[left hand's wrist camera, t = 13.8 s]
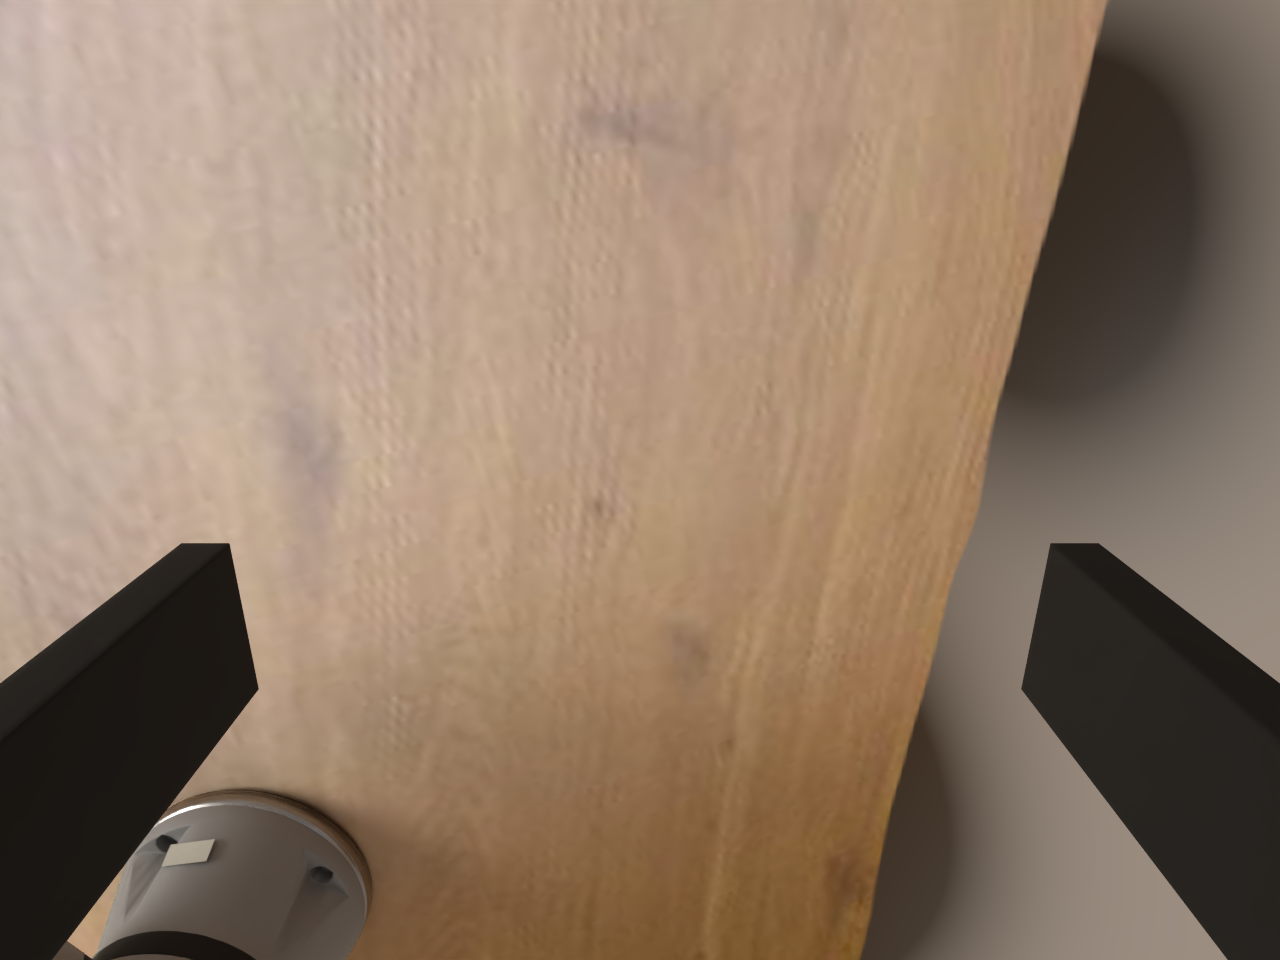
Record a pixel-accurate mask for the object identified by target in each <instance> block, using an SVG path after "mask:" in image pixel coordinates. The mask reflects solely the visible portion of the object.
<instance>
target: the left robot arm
mask: <svg viewBox="0 0 1280 960" xmlns="http://www.w3.org/2000/svg"><path fill="white" fill-rule="evenodd" d="M1022 690H1023V692H1024V693H1025V694H1026V696H1027V697H1028V698H1029V700H1030V701H1031V702H1032V704H1033V705H1034V706H1035V708H1036V709H1037V710H1038V712H1039V713H1040V714H1041V715H1042V717H1043V718H1044V719H1045V721H1046V722H1047V723H1048V725H1049V726H1050V727H1051V729H1052V730H1053V731H1054V733H1055V734H1056V735H1057V736H1058V738H1059V739H1060V740H1061V742H1062V743H1063V744H1064V746H1065V747H1066V748H1067V750H1068V751H1069V752H1070V754H1071V755H1072V756H1073V757H1074V759H1075V760H1076V761H1077V763H1078V764H1079V765H1080V767H1081V768H1082V769H1083V771H1084V772H1085V773H1086V774H1087V776H1088V777H1089V778H1090V780H1091V781H1092V782H1093V784H1094V785H1095V786H1096V788H1097V789H1098V790H1099V792H1100V793H1101V794H1102V795H1103V797H1104V798H1105V799H1106V801H1107V802H1108V803H1109V805H1110V806H1111V807H1112V809H1113V810H1114V811H1115V812H1116V814H1117V815H1118V816H1119V818H1120V819H1121V820H1122V822H1123V823H1124V824H1125V826H1126V827H1127V828H1128V830H1129V831H1130V832H1131V834H1132V835H1133V836H1134V837H1135V839H1136V840H1137V841H1138V843H1139V844H1140V845H1141V847H1142V848H1143V849H1144V851H1145V852H1146V853H1147V854H1148V856H1149V857H1150V858H1151V860H1152V861H1153V862H1154V864H1155V865H1156V866H1157V868H1158V869H1159V870H1160V872H1161V873H1162V874H1163V875H1164V877H1165V878H1166V879H1167V881H1168V882H1169V883H1170V885H1171V886H1172V887H1173V889H1174V890H1175V891H1176V893H1177V894H1178V895H1179V896H1180V898H1181V899H1182V900H1183V902H1184V903H1185V904H1186V906H1187V907H1188V908H1189V910H1190V911H1191V912H1192V913H1193V915H1194V916H1195V917H1196V919H1197V920H1198V921H1199V923H1200V924H1201V925H1202V927H1203V928H1204V929H1205V931H1206V932H1207V933H1208V934H1209V936H1210V937H1211V938H1212V940H1213V941H1214V942H1215V944H1216V945H1217V946H1218V948H1219V949H1220V950H1221V951H1222V953H1223V954H1224V955H1225V957H1226V958H1227V959H1228V960H1280V683H1278V682H1277V681H1276V680H1275V679H1273V678H1272V677H1271V676H1269V675H1268V674H1267V673H1266V672H1264V671H1263V670H1262V669H1260V668H1259V667H1258V666H1256V665H1255V664H1254V663H1253V662H1251V661H1250V660H1249V659H1247V658H1246V657H1245V656H1244V655H1242V654H1241V653H1240V652H1238V651H1237V650H1236V649H1234V648H1233V647H1232V646H1231V645H1229V644H1228V643H1227V642H1225V641H1224V640H1223V639H1222V638H1220V637H1219V636H1218V635H1216V634H1215V633H1214V632H1213V631H1211V630H1210V629H1208V628H1207V627H1206V626H1205V625H1203V624H1202V623H1201V622H1199V621H1198V620H1197V619H1196V618H1194V617H1193V616H1192V615H1191V614H1189V613H1188V612H1187V611H1185V610H1184V609H1183V608H1181V607H1180V606H1179V605H1178V604H1176V603H1175V602H1174V601H1172V600H1171V599H1170V598H1169V597H1167V596H1166V595H1165V594H1163V593H1162V592H1161V591H1159V590H1158V589H1157V588H1156V587H1154V586H1153V585H1152V584H1150V583H1149V582H1148V581H1147V580H1145V579H1144V578H1143V577H1141V576H1140V575H1139V574H1137V573H1136V572H1135V571H1134V570H1132V569H1131V568H1130V567H1128V566H1127V565H1126V564H1125V563H1123V562H1122V561H1121V560H1119V559H1118V558H1117V557H1115V556H1114V555H1113V554H1112V553H1110V552H1109V551H1108V550H1106V549H1105V548H1104V547H1103V546H1101V545H1100V544H1099V543H1051V544H1050V549H1049V554H1048V559H1047V564H1046V569H1045V574H1044V579H1043V584H1042V589H1041V594H1040V599H1039V604H1038V609H1037V614H1036V619H1035V624H1034V629H1033V634H1032V639H1031V644H1030V649H1029V654H1028V659H1027V664H1026V669H1025V674H1024V679H1023V684H1022ZM257 691H258V684H257V679H256V674H255V669H254V664H253V659H252V654H251V649H250V644H249V639H248V634H247V629H246V624H245V619H244V614H243V609H242V604H241V599H240V594H239V589H238V584H237V579H236V574H235V569H234V564H233V559H232V554H231V549H230V544H229V543H181V544H180V545H179V546H177V547H176V548H175V549H174V550H172V551H171V552H170V553H168V554H167V555H166V556H165V557H163V558H162V559H161V560H159V561H158V562H157V563H155V564H154V565H153V566H152V567H150V568H149V569H148V570H146V571H145V572H144V573H143V574H141V575H140V576H139V577H137V578H136V579H135V580H133V581H132V582H131V583H130V584H128V585H127V586H126V587H124V588H123V589H122V590H121V591H119V592H118V593H117V594H115V595H114V596H113V597H111V598H110V599H109V600H108V601H106V602H105V603H104V604H102V605H101V606H100V607H99V608H97V609H96V610H95V611H93V612H92V613H91V614H89V615H88V616H87V617H86V618H84V619H83V620H82V621H80V622H79V623H78V624H77V625H75V626H74V627H73V628H71V629H70V630H69V631H67V632H66V633H65V634H64V635H62V636H61V637H60V638H58V639H57V640H56V641H55V642H53V643H52V644H51V645H49V646H48V647H47V648H45V649H44V650H43V651H42V652H40V653H39V654H38V655H36V656H35V657H34V658H33V659H31V660H30V661H29V662H27V663H26V664H25V665H24V666H22V667H21V668H20V669H18V670H17V671H16V672H14V673H13V674H12V675H11V676H9V677H8V678H7V679H5V680H4V681H3V682H2V683H0V960H345V959H346V958H347V957H348V955H349V954H350V952H351V951H352V949H353V947H354V945H355V943H356V941H357V940H358V938H359V936H360V934H361V932H362V929H363V927H364V924H365V921H366V919H367V916H368V913H369V910H370V906H371V901H372V883H371V878H370V874H369V870H368V868H367V865H366V863H365V861H364V859H363V857H362V855H361V853H360V852H359V850H358V849H357V847H356V846H355V844H354V843H353V842H352V841H351V840H350V838H349V837H348V836H347V835H346V834H345V833H344V832H343V831H342V830H341V829H340V828H338V827H337V826H336V825H335V824H334V823H333V822H331V821H330V820H328V819H327V818H326V817H324V816H323V815H321V814H319V813H318V812H316V811H314V810H312V809H310V808H308V807H306V806H304V805H302V804H300V803H297V802H295V801H293V800H290V799H287V798H284V797H281V796H277V795H273V794H269V793H263V792H257V791H247V790H225V791H216V792H209V793H205V794H201V795H197V796H194V797H191V798H188V799H186V800H184V801H181V802H179V803H177V804H176V805H174V806H172V807H171V808H169V809H168V807H169V806H170V805H171V803H172V802H173V801H174V799H175V798H176V797H177V795H178V794H179V793H180V792H181V790H182V789H183V788H184V786H185V785H186V784H187V782H188V781H189V780H190V778H191V777H192V776H193V774H194V773H195V772H196V771H197V769H198V768H199V767H200V765H201V764H202V763H203V761H204V760H205V759H206V757H207V756H208V755H209V754H210V752H211V751H212V750H213V748H214V747H215V746H216V744H217V743H218V742H219V740H220V739H221V738H222V736H223V735H224V734H225V733H226V731H227V730H228V729H229V727H230V726H231V725H232V723H233V722H234V721H235V719H236V718H237V717H238V715H239V714H240V713H241V712H242V710H243V709H244V708H245V706H246V705H247V704H248V702H249V701H250V700H251V698H252V697H253V696H254V694H255V693H256V692H257ZM167 809H168V810H167ZM126 862H127V863H126ZM125 864H126V865H125ZM124 865H125V868H124V870H123V873H122V876H121V880H120V883H119V886H118V889H117V892H116V895H115V898H114V901H113V904H112V907H111V910H110V913H109V916H108V919H107V922H106V925H105V928H104V931H103V934H102V937H101V940H100V943H99V946H98V950H97V952H96V953H95V955H94V956H93V958H92V959H91V958H90V957H88V956H87V955H85V954H84V953H83V952H82V951H80V950H79V949H78V948H76V947H75V946H73V945H72V944H70V943H69V942H68V941H67V940H68V938H69V937H70V936H71V934H72V933H73V932H74V931H75V929H76V928H77V927H78V925H79V924H80V923H81V921H82V920H83V919H84V917H85V916H86V915H87V913H88V912H89V911H90V910H91V908H92V907H93V906H94V904H95V903H96V902H97V900H98V899H99V898H100V896H101V895H102V894H103V893H104V891H105V890H106V889H107V887H108V886H109V885H110V883H111V882H112V881H113V879H114V878H115V877H116V875H117V874H118V873H119V872H120V870H121V869H122V868H123V866H124Z"/></svg>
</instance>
